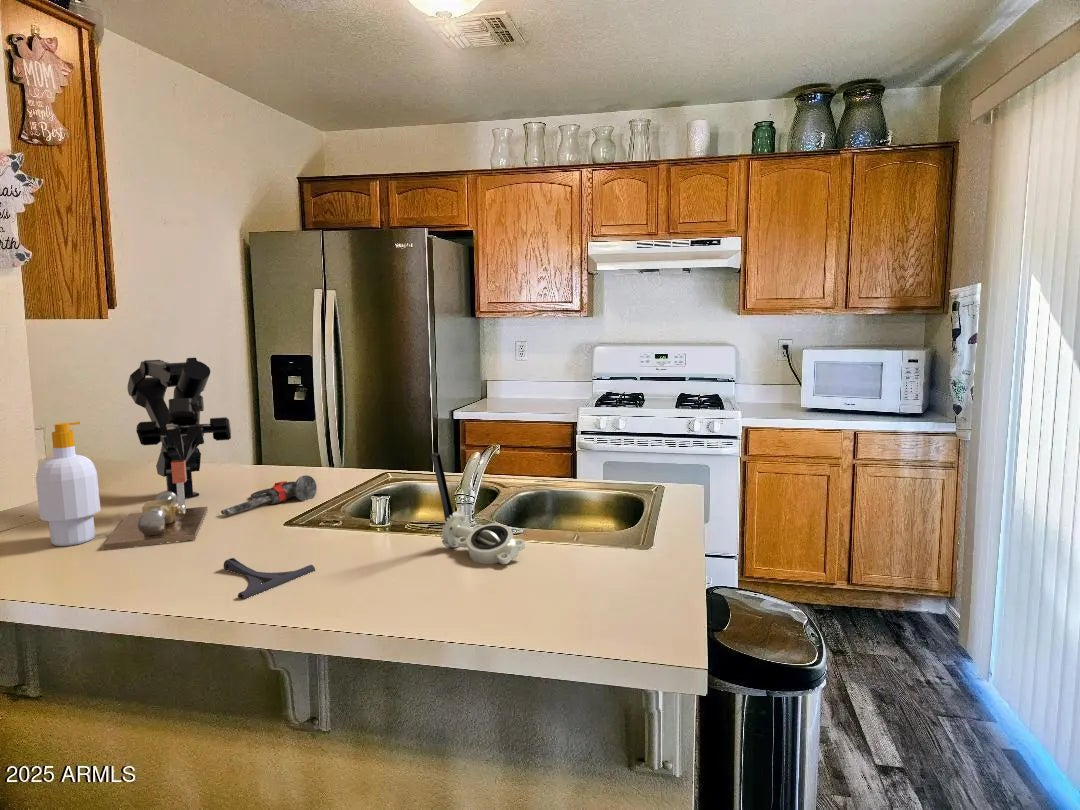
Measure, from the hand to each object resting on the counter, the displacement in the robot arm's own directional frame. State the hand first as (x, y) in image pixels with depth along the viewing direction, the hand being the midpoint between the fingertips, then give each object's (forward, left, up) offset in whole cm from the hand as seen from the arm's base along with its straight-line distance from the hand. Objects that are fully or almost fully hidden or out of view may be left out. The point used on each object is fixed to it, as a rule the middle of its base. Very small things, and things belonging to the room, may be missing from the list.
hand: (183, 461), depth 153 cm
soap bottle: (-5, -21, -13) cm, 25 cm away
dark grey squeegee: (+43, -11, -14) cm, 47 cm away
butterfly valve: (+69, +20, -13) cm, 73 cm away
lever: (+5, -4, -10) cm, 12 cm away
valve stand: (+2, -7, -13) cm, 15 cm away
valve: (+2, +18, -14) cm, 23 cm away
